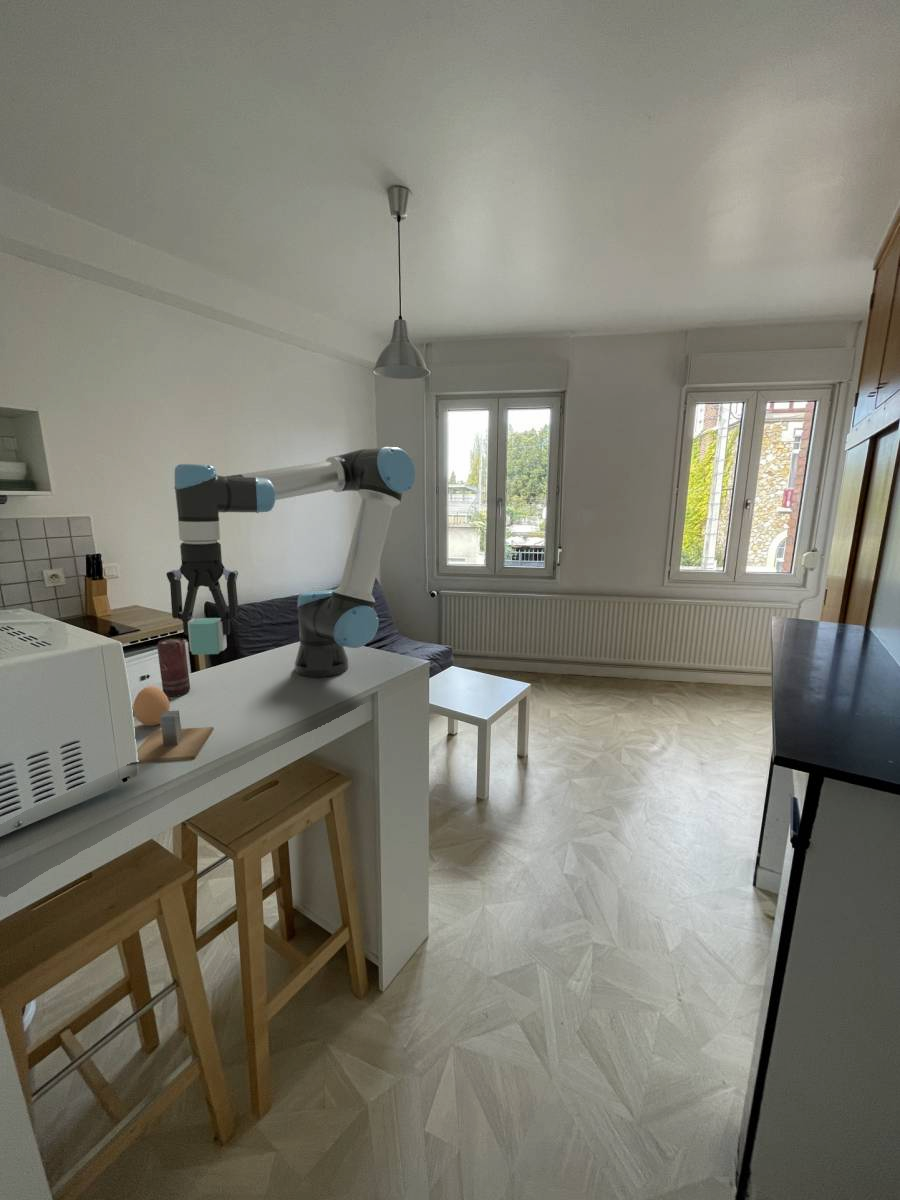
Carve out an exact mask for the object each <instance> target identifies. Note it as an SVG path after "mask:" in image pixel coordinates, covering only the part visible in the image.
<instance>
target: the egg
mask: <svg viewBox="0 0 900 1200" xmlns="http://www.w3.org/2000/svg"><path fill="white" fill-rule="evenodd" d="M165 711H170V700H169V697H168V696H166V695H165V693H164V692H163V689H161V688H159V687H158V686H154V685H153V686H151V685H150V686H146V687H144V688H142V689H140V691H139V692H138V693H137V695H136V697H135V699H134V702H133V714H134V717H135V718H136V720H137V721H138V722H139V723H141V724H142V725H144V726H147V727H148V726H150V727H154V726H157V725H159V724H161V721H160V717H161V715H162V714H163V713H164V712H165Z"/></svg>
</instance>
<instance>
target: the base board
mask: <svg viewBox="0 0 900 1200" xmlns="http://www.w3.org/2000/svg"><path fill="white" fill-rule="evenodd" d="M214 729H215V728H214V726H208V727H192V728H191V727H190V728H181V732H182V740H181V742H180V743H179V744H178V745H176V746H164V744H163V736H162V729H158V730H153V731H152V732H151V733H150V734H149V735H148V736H147V738H146V739H145V740H144V741H143V742H142V744H140V746H139V747H137V749H136V750H137V752H138V760H139V763H140V764H141V763H153V762H165V761H166V762H167V761H180V760H181V761H183V760H184V761H185V760H195V759H196V758H197V756H198V755H199V753H200V751H201V750H202V749H203V747H204V745H205V743H206V742H207V740H208V739H209V737H210V736H211V734H212V732H213V731H214ZM139 763H138V764H139Z"/></svg>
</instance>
